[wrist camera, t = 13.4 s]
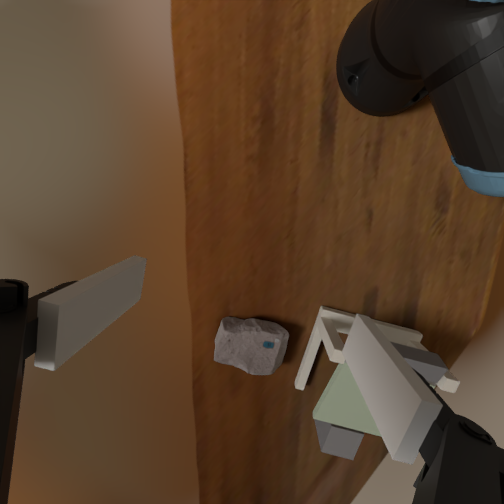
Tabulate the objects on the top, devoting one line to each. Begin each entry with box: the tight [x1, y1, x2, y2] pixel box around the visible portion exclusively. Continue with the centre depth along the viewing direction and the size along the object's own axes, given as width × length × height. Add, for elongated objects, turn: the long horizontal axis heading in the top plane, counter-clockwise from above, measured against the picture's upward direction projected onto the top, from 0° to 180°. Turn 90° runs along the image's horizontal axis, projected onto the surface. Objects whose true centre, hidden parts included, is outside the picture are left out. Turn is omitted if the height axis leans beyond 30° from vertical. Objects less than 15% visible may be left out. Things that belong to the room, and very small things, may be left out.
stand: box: [295, 306, 460, 393], centre depth 44 cm, size 18×19×12 cm
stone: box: [214, 317, 289, 375], centre depth 47 cm, size 13×10×6 cm
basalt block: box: [314, 419, 364, 460], centre depth 49 cm, size 6×6×7 cm
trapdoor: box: [313, 342, 448, 437], centre depth 41 cm, size 18×14×3 cm
